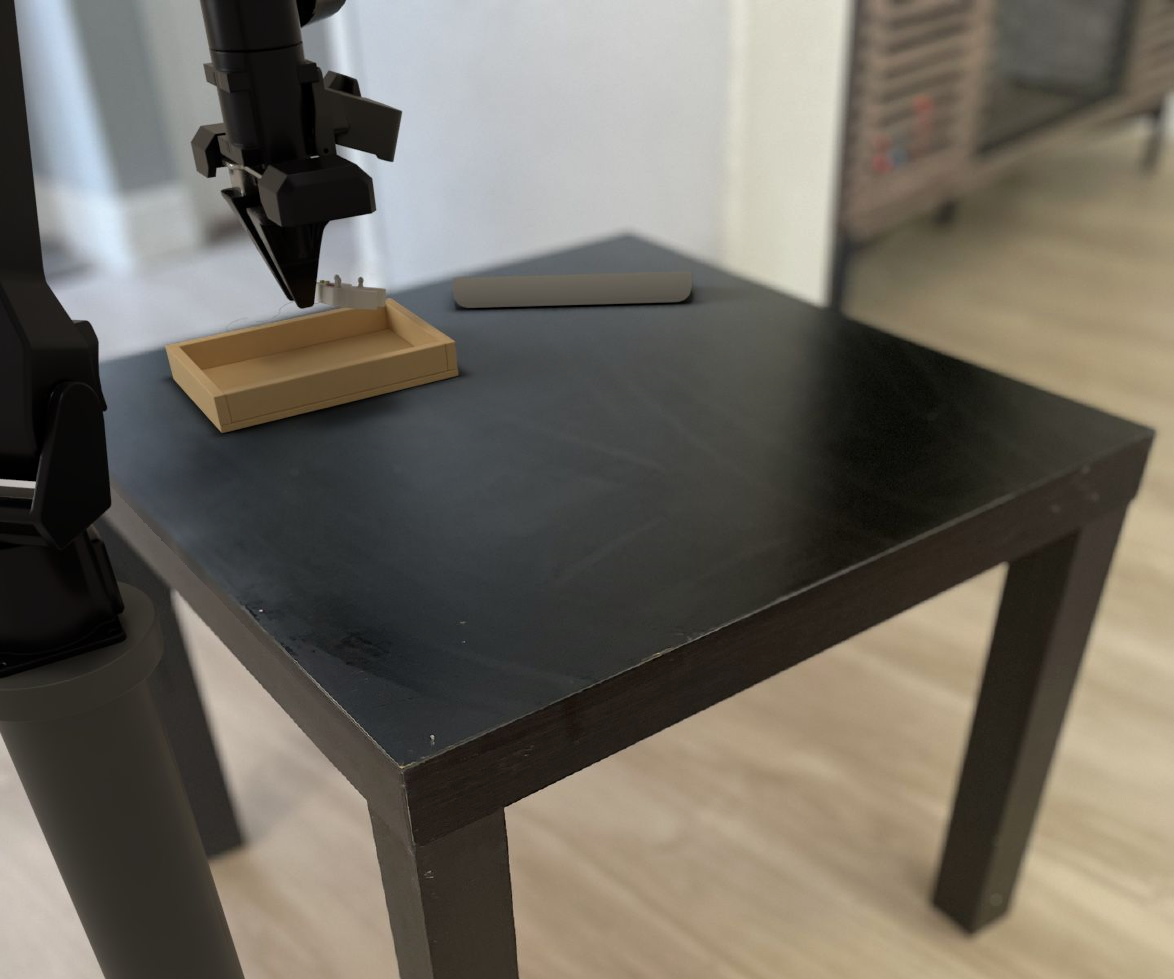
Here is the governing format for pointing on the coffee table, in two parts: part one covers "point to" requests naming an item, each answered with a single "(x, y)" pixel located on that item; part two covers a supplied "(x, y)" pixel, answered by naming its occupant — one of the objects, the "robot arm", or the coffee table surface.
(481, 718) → the coffee table surface
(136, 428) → the coffee table surface
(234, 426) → the serving tray
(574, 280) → the gray half cylinder
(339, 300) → the game controller
